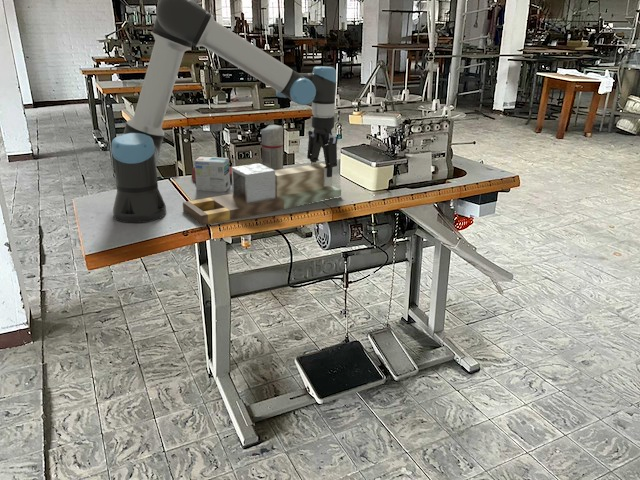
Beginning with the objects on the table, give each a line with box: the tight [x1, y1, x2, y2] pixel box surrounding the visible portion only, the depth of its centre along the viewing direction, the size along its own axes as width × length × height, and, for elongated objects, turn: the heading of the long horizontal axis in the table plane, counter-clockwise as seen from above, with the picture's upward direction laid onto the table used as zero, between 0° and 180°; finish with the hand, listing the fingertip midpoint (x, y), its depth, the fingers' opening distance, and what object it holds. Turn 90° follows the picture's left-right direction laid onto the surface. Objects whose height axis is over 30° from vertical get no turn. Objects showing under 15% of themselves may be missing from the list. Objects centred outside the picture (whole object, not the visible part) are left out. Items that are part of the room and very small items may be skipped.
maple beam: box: [275, 162, 334, 197], centre depth 175 cm, size 22×6×7 cm, turn 126°
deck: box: [182, 185, 342, 226], centre depth 169 cm, size 51×14×3 cm, turn 126°
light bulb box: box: [194, 156, 231, 193], centre depth 182 cm, size 11×7×11 cm, turn 84°
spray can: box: [261, 124, 284, 170], centre depth 194 cm, size 8×8×20 cm
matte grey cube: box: [231, 163, 275, 205], centre depth 165 cm, size 10×10×10 cm
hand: (321, 182), depth 180 cm, fingers open, 7 cm apart
